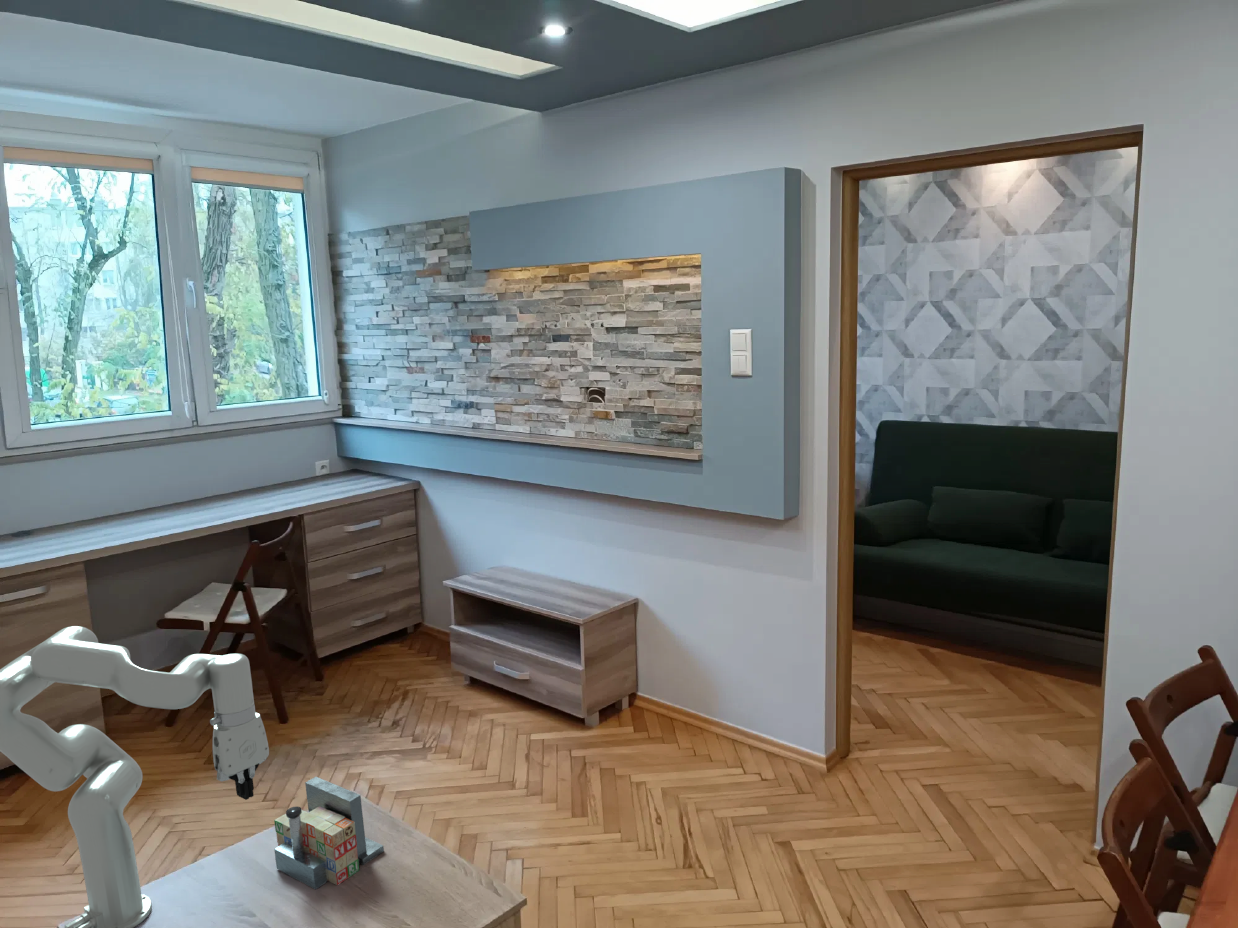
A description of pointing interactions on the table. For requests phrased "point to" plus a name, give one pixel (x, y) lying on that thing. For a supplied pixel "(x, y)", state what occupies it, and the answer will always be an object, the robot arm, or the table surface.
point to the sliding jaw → (300, 856)
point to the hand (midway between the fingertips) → (245, 796)
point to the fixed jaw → (343, 812)
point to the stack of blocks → (325, 840)
